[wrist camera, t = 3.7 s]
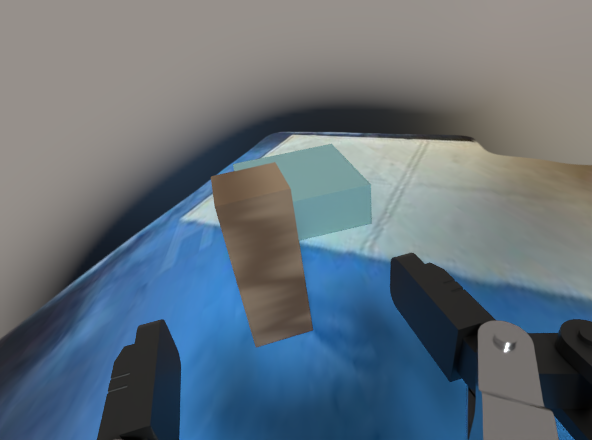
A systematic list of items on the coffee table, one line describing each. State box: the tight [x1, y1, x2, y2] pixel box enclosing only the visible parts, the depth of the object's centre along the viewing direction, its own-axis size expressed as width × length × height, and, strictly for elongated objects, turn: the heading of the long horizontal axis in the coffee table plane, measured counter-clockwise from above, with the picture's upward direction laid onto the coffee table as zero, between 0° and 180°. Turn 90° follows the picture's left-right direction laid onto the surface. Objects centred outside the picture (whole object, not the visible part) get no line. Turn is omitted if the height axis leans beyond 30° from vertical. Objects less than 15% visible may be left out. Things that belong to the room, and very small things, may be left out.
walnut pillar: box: [211, 162, 313, 347], centre depth 25 cm, size 4×4×12 cm
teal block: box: [233, 144, 372, 241], centre depth 42 cm, size 13×13×5 cm
